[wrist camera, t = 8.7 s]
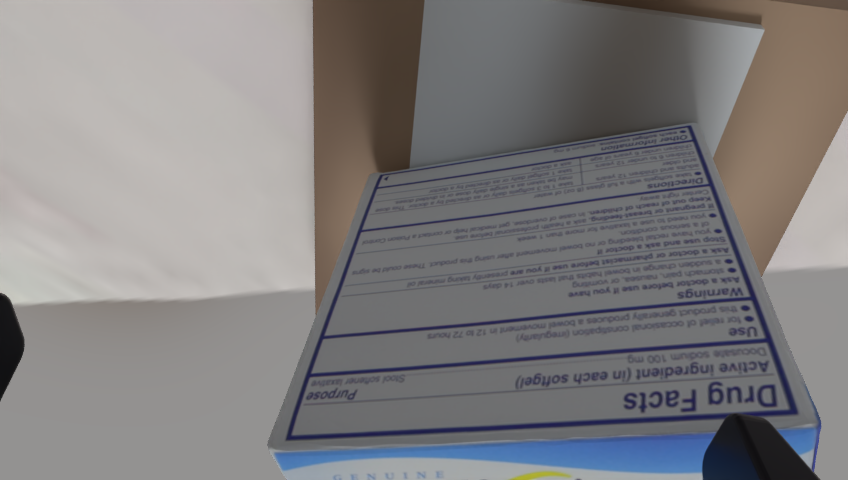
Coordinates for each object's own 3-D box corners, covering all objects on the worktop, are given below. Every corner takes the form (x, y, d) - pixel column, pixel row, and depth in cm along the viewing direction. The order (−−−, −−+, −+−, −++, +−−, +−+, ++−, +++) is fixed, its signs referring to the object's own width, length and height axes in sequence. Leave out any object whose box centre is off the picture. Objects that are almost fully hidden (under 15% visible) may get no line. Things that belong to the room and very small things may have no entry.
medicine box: (411, 296, 20) (345, 603, 13) (366, 163, 17) (254, 458, 10) (703, 265, 18) (808, 609, 11) (701, 111, 15) (832, 430, 8)
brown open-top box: (334, 286, 24) (313, 345, 22) (339, -88, 16) (308, -57, 14) (683, 341, 23) (699, 408, 21) (851, -21, 16) (902, 22, 14)
